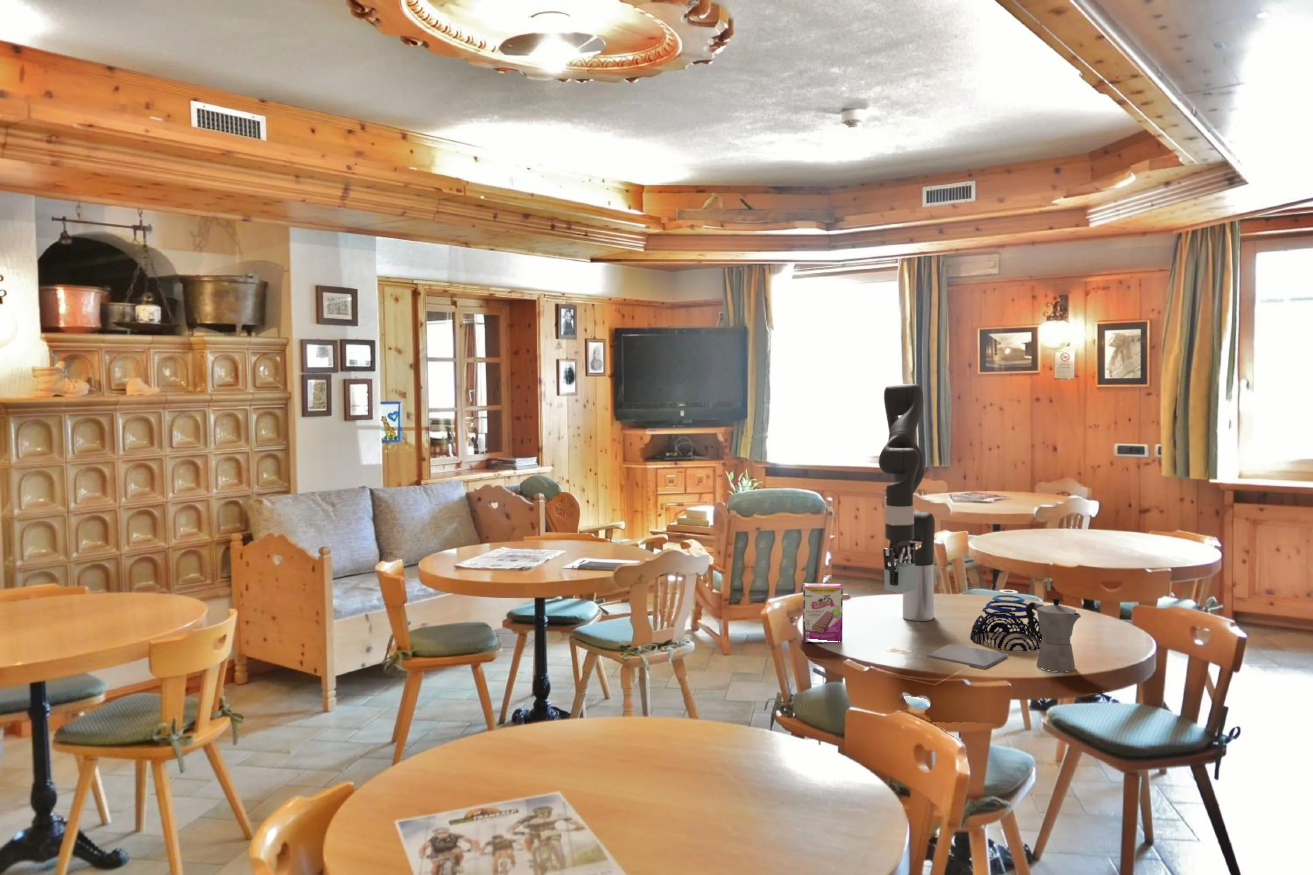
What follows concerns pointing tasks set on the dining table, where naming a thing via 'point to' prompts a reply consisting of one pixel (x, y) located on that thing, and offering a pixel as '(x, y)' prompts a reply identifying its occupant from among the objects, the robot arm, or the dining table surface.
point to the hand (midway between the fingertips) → (899, 582)
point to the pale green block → (901, 578)
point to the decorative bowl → (1005, 624)
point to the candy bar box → (822, 611)
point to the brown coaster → (900, 651)
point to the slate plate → (968, 655)
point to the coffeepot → (1054, 635)
